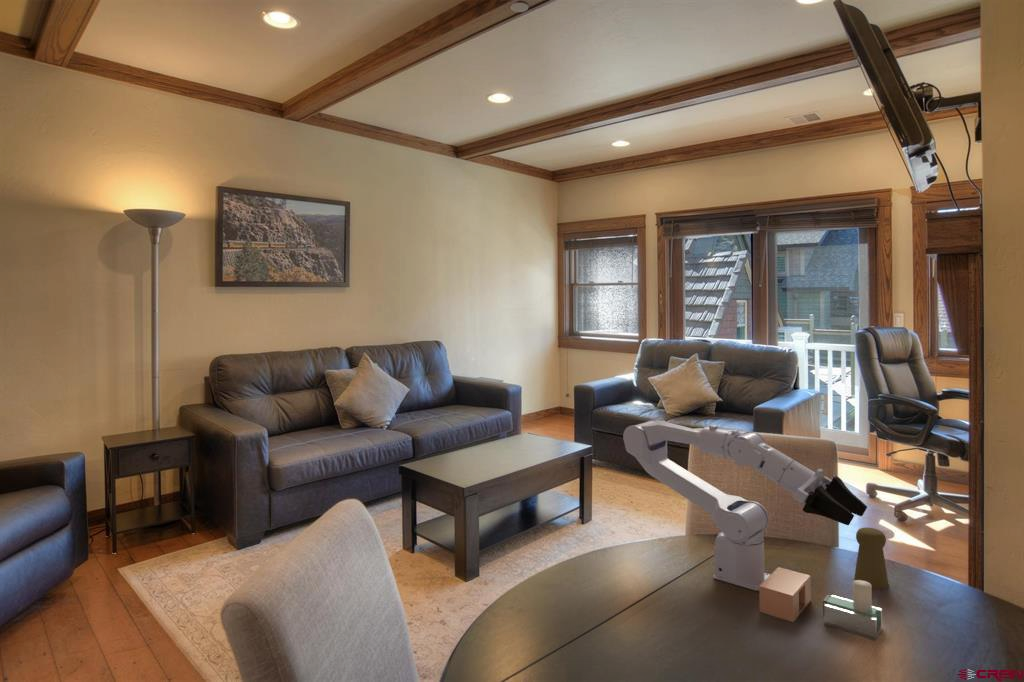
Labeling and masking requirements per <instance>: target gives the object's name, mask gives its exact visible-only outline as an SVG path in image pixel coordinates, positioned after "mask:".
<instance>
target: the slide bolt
mask: <svg viewBox="0 0 1024 682" xmlns="http://www.w3.org/2000/svg"><path fill="white" fill-rule="evenodd" d="M872 591H873V589H872V585H871V584H870V583H869V582H866V581H862V580H853V581H852V601H853V602H851V601H848V600H844V599H841V598H837V597H833V596H832V595H831V594H827V595H826V596H825V597H824V598H823V600H822V617H823V618H824V605H825V604H829V605H832V606H836V607H839V608H843V609H846V610H850V611H853V612H857V613H860V614H863V615H867V616H870V617H874V618H877V609H876V608H873V607H872V606H873V604H872V603H873V600H872V599H873V596H872V594H873V593H872Z"/></svg>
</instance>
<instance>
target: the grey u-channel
mask: <svg viewBox="0 0 1024 682" xmlns="http://www.w3.org/2000/svg"><path fill="white" fill-rule="evenodd" d="M831 596H833V597H837V598H841V599H844V600H848V601H851V602H853V599H848V598H845V597H841V596H838V595H834V594H832V595H831ZM872 607H873V608H876V609H877V618H874V617H870V616H867V615H863V614H860V613H857V612H853V611H850V610H846V609H843V608H839V607H836V606H832V605H829V604H825V605H824V617H823V618H824V619H823V620H824V621H823V622H824V624H823V625H825V626H828V627H830V628H834V629H837V630H840V631H843V632H847V633H850V634H853V635H857V636H859V637H863V638H866V639H869V640H873V641H877V639H878V637H879V635H880V633H881V631H882V630H883V608H881V607H877V606H874V605H872Z"/></svg>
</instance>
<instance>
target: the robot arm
mask: <svg viewBox="0 0 1024 682" xmlns="http://www.w3.org/2000/svg"><path fill="white" fill-rule="evenodd" d="M622 438H623V439H622V441H623V442H624V443H623V444H624V447H625V450H626V453H628V454H630V455H631V456H632V457H634V458H635V459H636V460H637V461H638V463H639V464H640V466H642V468H643V469H644V471H645V472H646V473H647V474H649V476H651V477H652V478H654V479H656V480H657V481H659V482H660V483H662V485H663V484H664V485H665V486H666V487H667V488H670V489H671V490H673V491H674V492H675V493H677V494H679V495H681V496H682V497H684V498H685V499H687V500H688V501H689V502H691V503H693V504H694V505H696V506H697V507H699V508H701V509H702V510H704V511H706V512H707V513H709V514H710V515H712V522H713V525H714V526H716V527H717V528H718V529H719V530H720V531H721V532H719V533H718V534H717V536H716V538H715V540H714V550H713V551H714V552H713V553H714V558H713V559H714V574H713V578H714V579H715V580H718V581H722V582H726V583H729V584H732V585H734V586H738V587H742V588H746V589H747V590H748V589H749V590H752V591H755V592H759V586H760V585H761V584H762V583H763V582H764V581H765V580H766V579H767V578H768V577H769V576H770V575H771V573H766V572H765V540H764V539H765V538H764V530H765V529H766V528H768V525H769V523H770V517H769V513H768V511H767V509H766V508H765V507H764V506H763V505H762V504H761V503H760V502H758V501H754V500H747V499H746V498H743V497H741V496H738V495H731V494H727V493H725V492H723V491H721V490H720V489H719V488H717V487H715V486H713V485H711V484H710V483H708V482H707V481H705V479H702V478H700V477H699V476H697V475H695V474H694V473H692V472H691V471H689V470H687V469H685V468H684V467H682V466H680V465H679V464H677V463H676V462H675V461H672V460H670V458H668V442H675V443H681V444H686V445H687V444H688V445H693V446H697V447H698V449H699V450H700V452H702V453H703V454H708V455H713V456H717V457H722V458H725V459H731V460H733V461H734V462H733V463H734V464H735V465H737V466H742V467H745V466H747V467H749V468H752V470H755V471H756V472H758V473H760V475H761V474H762V475H763V476H764V477H766V478H768V479H769V480H771V482H774V483H775V484H777V485H778V486H781V487H782V488H783V489H785V490H786V491H788V492H789V493H791V494H792V495H793V496H792V499H794V500H795V501H797V502H798V503H800V504H802V505H803V504H804V506H803V508H802V512H804V513H806V514H811V515H817V516H820V517H824V518H827V519H830V520H833V521H834V522H838V523H839V524H843V525H845V526H849V525H851V522H852V521H853V519H854V517H855V516H859V517H863V515H864V514H865V512H866V510H867V508H868V506H867V505H866V504H865V503H864V502H863V501H862V500H861V499H859V498H858V497H857V496H856V495H855V494H854V493H853V492H852V491H851V490H850V489H849V488H848V487H847V486H846V485H845V483H844V482H843V480H842V478H841V477H839V476H833V478H832V479H831V478H830V477H827V476H825V475H823V473H824V469H822V468H818V469H817V470H816V471H814V470H811V469H810V468H808V467H807V466H805V465H803V464H801V463H799V462H798V461H796V460H795V459H794V458H792V457H789V456H788V455H786V454H784V453H783V452H781V451H779V450H778V449H776V448H775V447H773V446H771V445H769V444H767V442H766V440H765V438H763V436H762V435H760V434H759V433H757V432H754V431H752V430H749V431H746V432H744V433H742V434H741V433H740V431H739V430H738V429H733V430H729V429H728V430H727V429H722V428H719V427H718V425H716V424H711V425H709V426H705V427H704V428H702V429H701V430H699V429H695V428H690V427H689V426H688V427H687V426H684V425H680V424H675V423H671V422H668V421H666V420H657V419H650V420H648V421H645V422H643V423H638V424H635V425H630V426H629V425H628V426H627V427H626V428H625V429H624V431H623V437H622Z"/></svg>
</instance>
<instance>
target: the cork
mask: <svg viewBox="0 0 1024 682" xmlns="http://www.w3.org/2000/svg"><path fill="white" fill-rule="evenodd" d="M855 539H856V542H857V543H858V544H859V545H858V550H857V551H858V552H857V558H856V565H855V571H854V579H853V581H855V580H862V581H866V582H869V583H870V584H871V585H872V590H885V589H887V588H889V579H888V572H887V567H886V561H885V560H886V559H885V554H884V547H885V546H886V543H887V538H886V535H885V534H884V532H883V531H881V530H880V529H877V528H874V527H861V528H858V530H857V531H856V533H855Z"/></svg>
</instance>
